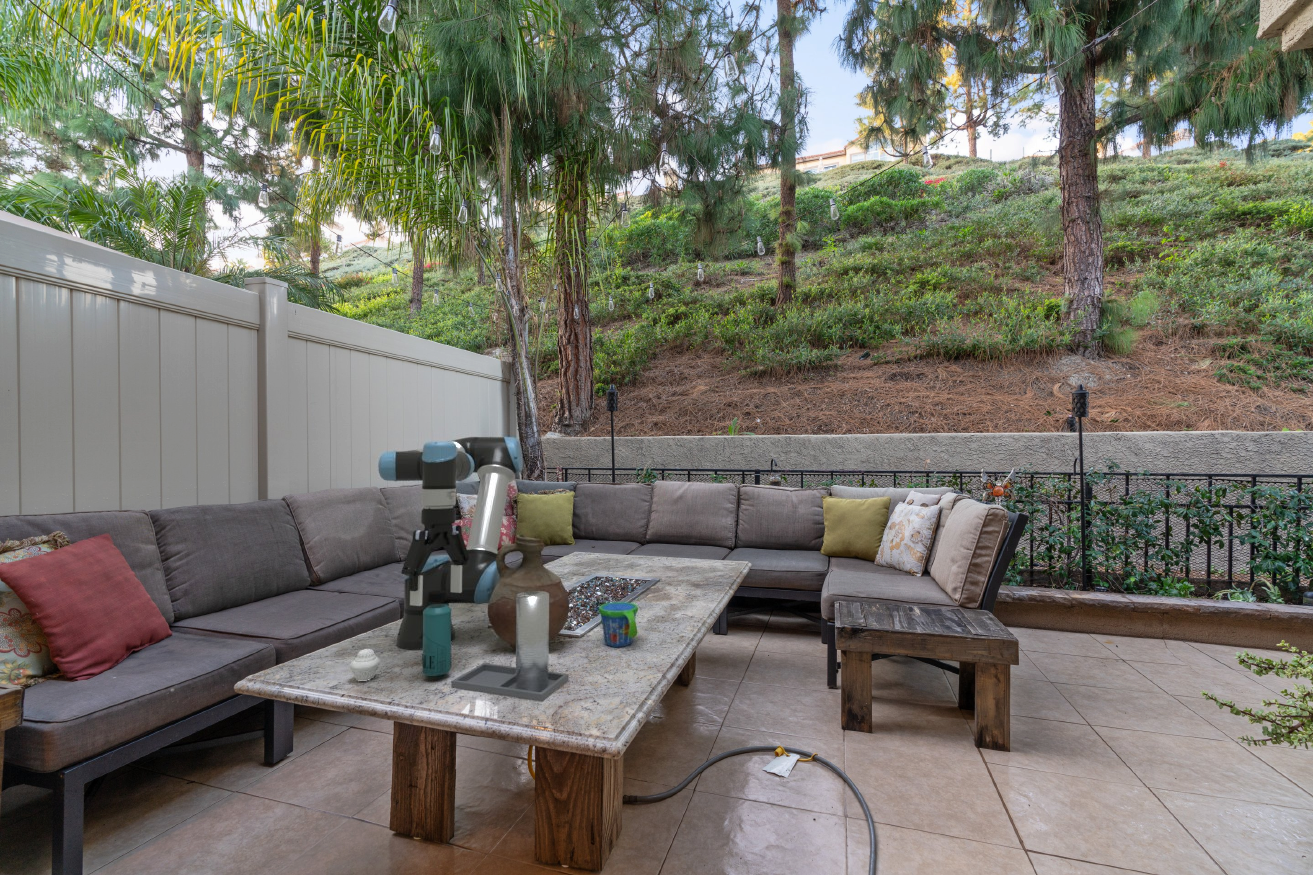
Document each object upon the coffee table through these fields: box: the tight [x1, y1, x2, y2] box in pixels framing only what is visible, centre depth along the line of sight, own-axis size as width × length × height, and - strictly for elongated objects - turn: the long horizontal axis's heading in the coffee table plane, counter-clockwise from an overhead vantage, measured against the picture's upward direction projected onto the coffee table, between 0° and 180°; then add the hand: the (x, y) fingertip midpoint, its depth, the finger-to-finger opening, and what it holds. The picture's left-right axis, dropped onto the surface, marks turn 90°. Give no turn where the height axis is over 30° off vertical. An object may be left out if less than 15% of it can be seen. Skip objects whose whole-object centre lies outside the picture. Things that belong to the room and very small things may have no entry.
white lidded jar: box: [349, 648, 381, 681], centre depth 130 cm, size 6×6×7 cm
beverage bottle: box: [421, 590, 453, 677], centre depth 131 cm, size 6×7×20 cm
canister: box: [515, 591, 550, 692], centre depth 123 cm, size 7×7×20 cm
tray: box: [450, 662, 569, 702], centre depth 124 cm, size 12×22×2 cm, turn 72°
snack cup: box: [598, 601, 639, 648], centre depth 155 cm, size 16×10×10 cm
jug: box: [487, 534, 570, 649], centre depth 152 cm, size 22×22×30 cm
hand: (437, 598), depth 131 cm, fingers open, 13 cm apart
